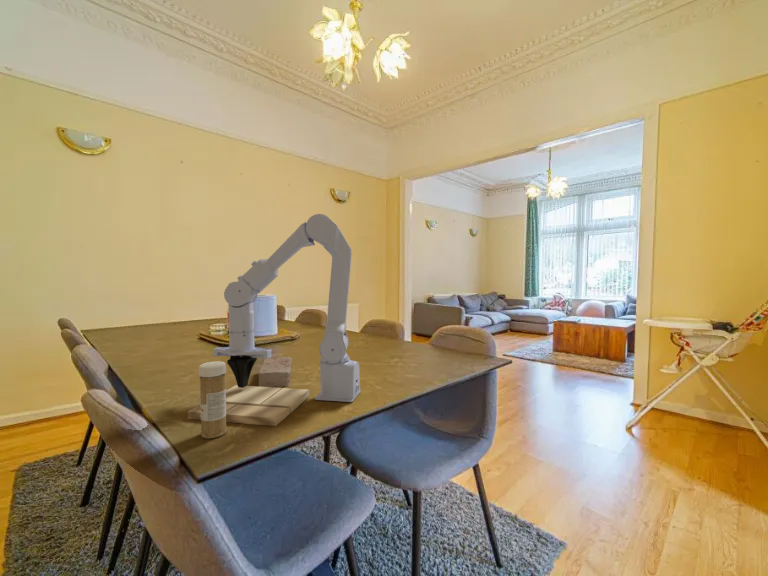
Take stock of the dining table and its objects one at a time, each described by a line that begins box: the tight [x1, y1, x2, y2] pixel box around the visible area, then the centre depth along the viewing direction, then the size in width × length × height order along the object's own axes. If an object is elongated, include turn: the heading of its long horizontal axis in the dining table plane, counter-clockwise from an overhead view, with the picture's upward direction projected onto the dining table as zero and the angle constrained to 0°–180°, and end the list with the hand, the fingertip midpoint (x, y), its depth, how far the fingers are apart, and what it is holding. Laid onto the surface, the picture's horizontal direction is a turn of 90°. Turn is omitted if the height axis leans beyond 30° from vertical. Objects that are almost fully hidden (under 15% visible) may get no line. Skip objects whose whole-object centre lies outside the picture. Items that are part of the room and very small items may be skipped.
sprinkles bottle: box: [198, 360, 228, 439], centre depth 65 cm, size 5×5×14 cm
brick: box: [258, 356, 293, 388], centre depth 100 cm, size 17×8×5 cm, turn 13°
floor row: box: [187, 402, 291, 427], centre depth 73 cm, size 20×6×2 cm, turn 79°
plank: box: [226, 384, 310, 414], centre depth 81 cm, size 20×10×2 cm, turn 79°
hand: (242, 386), depth 85 cm, fingers closed
